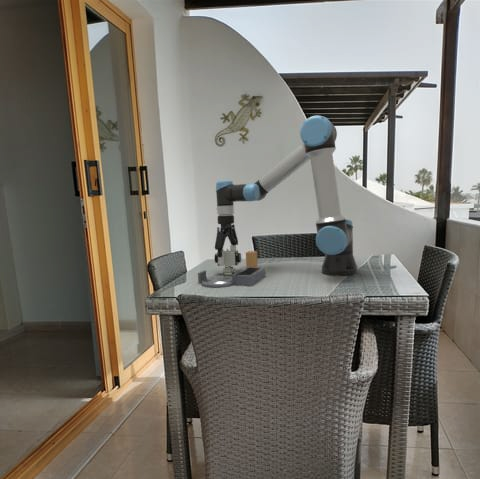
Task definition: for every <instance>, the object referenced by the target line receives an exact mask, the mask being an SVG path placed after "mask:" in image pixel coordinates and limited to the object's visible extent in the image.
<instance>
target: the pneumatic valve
mask: <svg viewBox="0 0 480 479" xmlns="http://www.w3.org/2000/svg"><path fill="white" fill-rule="evenodd" d="M214 262H215V264H217V266H219V267H221V266H222V267H224V268H222V274H223V276H232V275H233V274H235V272H236V269H235V267H234V266H238V265H239V264H241V262H242V253H241V252H239V250H238V249H236V250H235V251H230V250H229V248H226V250H224V264H218V251H217V252H216V253H214Z"/></svg>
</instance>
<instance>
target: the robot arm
mask: <svg viewBox="0 0 480 479" xmlns="http://www.w3.org/2000/svg"><path fill="white" fill-rule="evenodd" d="M299 136H300V139H301V142H302V143H301V144H300V145H298V146H297V147H296V148H295V149H294V150H292V151H291V152H290V153H289V154H288V155H287V156H285V157H284V158H283V159H281V160H280V161H279V162H278V163H277V164H276V165H274V166H273V167H272V168H271V169H270V170H268V171H267V172H266V173H265V174H264V175H263V176H261V177H260V178H259V179H258V180H257V181H255V182H253V183H243V184H242V183H240V184H233V183H234V182H233V181H232V180H218V181H217V182H216V183H215V184H216V185H215V194H216V210H217V211H216V212H217V224H218V225H220V226H217V227H216V228H217V229H216V230H217V231H216V232H217V233H216V237H215V244H214V249H215V250H216V251H217V252H218V264H224V251H225V249H224V245H225V242H226V240H227V239H226V238H228V240H229V242H230V245H229V246H230V250H229V251H235V250H237V246H238V245H239V240H238V239H239V238H238V236H237V231H236V227H235V215H234V214H235V209H234V208H235V207H234V202H235V203H236V202H255V201H257V202H258V201H262V200H263V199H265V198H266V196H267V195H268V193H270V192H271V191H272V190H274V189H275V188H276V187H277V186H278V185H280V184H281V183H282V182H284V181H285V180H286V179H287V178H289V177H290V176H291V175H292V174H294V173H295V172H296V171H298V170H299V169H300V168H302V167H303V166H304V165H305V164H306V163H308V162H309V161H310V165H311V172H312V179H313V183H314V184H313V185H314V187H313V188H314V193H315V199H316V206H317V212H318V219H317V220H316V222H315V226H316V236H315V245H316V246H317V248H318V250H319V251H321V253H323V254H324V259H323V262H322V265H321V273H322V274H324V275H328V276H352V275H355V274H358V265H357V263H356V259H355V257H354V240H353V238H354V237H353V236H354V235H353V234H354V233H353V229H354V226H353V221H352V220H350V219H347V218H346V217H344V216H343V214H342V212H341V205H340V199H339V192H338V185H337V184H338V183H337V177H336V170H335V163H334V156H333V153H335V152H336V148H337V147H336V140H337V137H338V132H337V128H336V127H335V125H334V124H333V123H332V122H331V121H330V120H329V118H328V117H325V116H322V115H317V114H316V115H312V116H310V117H308V118H307V119H305V120H304V122H303V123H302V124H301V127H300V130H299ZM218 264H217V265H218Z"/></svg>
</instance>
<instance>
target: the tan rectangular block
mask: <svg viewBox="0 0 480 479" xmlns="http://www.w3.org/2000/svg"><path fill="white" fill-rule="evenodd" d="M258 263H259V262H258V251H257V250H254V251H253V250H252V251H251V250H249V251H247V252H245V264H246V265H245V266H246V267H258V266H259V265H258ZM246 267H245V268H246Z"/></svg>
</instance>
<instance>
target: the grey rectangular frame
mask: <svg viewBox="0 0 480 479" xmlns="http://www.w3.org/2000/svg"><path fill="white" fill-rule="evenodd" d="M238 272H241V275H237V276H234V275H233V274H232V275H231V276H232V282H233V285H232V286H239V287H240V286H242V287H252V286H255V285H256V284H257V283H258V282H261V281H262V280H263V279H265V278H266V277H267V276H266V272H267V271H266V267H261V266H260V267H244V268H242V269H241V270H239V271H238ZM234 277H235V278H236V279H235V278H234ZM234 279H235V280H236V281H234ZM235 282H236V283H237V284H236V283H235ZM235 284H236V285H235Z"/></svg>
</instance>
